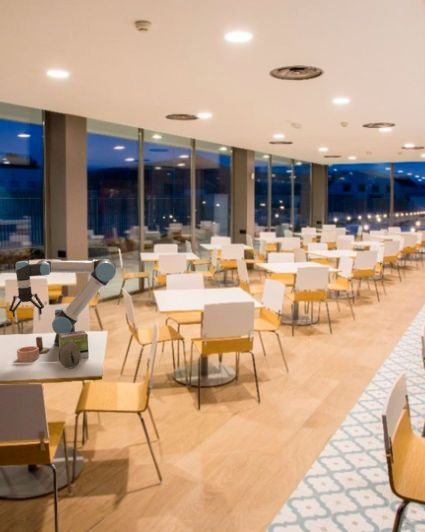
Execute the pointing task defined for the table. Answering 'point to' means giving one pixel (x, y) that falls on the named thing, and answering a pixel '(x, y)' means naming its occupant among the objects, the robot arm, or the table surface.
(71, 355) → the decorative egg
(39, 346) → the lid
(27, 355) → the bowl
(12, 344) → the table surface
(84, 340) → the tea box
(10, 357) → the table surface
